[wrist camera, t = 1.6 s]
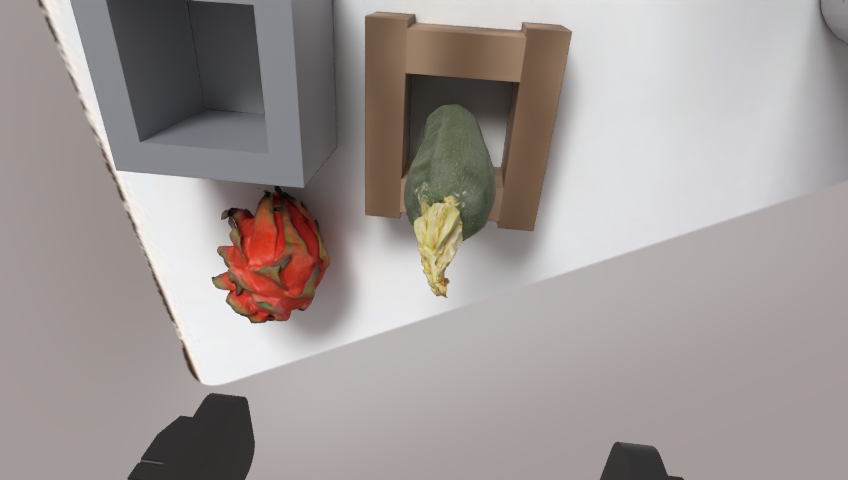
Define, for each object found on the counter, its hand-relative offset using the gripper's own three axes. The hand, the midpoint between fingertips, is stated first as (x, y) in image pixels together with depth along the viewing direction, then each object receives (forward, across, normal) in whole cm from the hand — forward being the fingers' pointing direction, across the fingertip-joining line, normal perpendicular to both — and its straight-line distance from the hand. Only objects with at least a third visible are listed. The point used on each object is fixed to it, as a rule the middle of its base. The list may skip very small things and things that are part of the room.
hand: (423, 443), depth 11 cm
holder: (+28, +15, -3) cm, 31 cm away
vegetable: (+28, 0, 0) cm, 28 cm away
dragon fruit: (+28, +13, +11) cm, 33 cm away
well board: (+28, 0, 0) cm, 28 cm away
